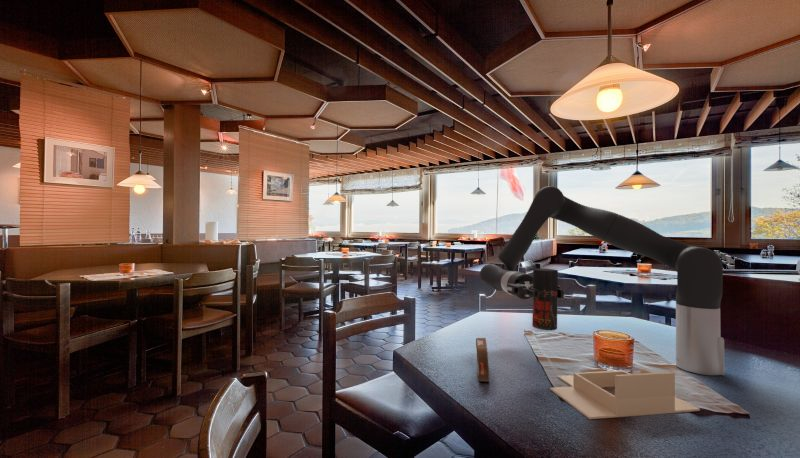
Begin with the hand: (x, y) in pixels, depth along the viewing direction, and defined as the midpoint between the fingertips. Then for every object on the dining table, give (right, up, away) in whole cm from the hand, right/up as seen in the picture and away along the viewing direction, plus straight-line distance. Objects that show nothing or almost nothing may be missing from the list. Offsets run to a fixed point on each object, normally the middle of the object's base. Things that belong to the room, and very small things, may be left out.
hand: (550, 294), depth 89 cm
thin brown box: (-18, -21, 0) cm, 27 cm away
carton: (+9, -21, -10) cm, 25 cm away
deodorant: (-1, -9, +2) cm, 10 cm away
